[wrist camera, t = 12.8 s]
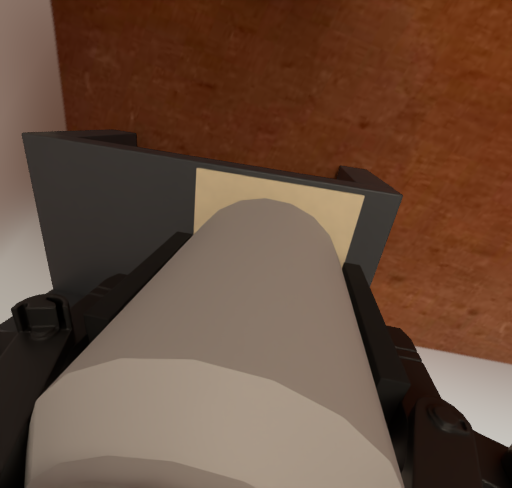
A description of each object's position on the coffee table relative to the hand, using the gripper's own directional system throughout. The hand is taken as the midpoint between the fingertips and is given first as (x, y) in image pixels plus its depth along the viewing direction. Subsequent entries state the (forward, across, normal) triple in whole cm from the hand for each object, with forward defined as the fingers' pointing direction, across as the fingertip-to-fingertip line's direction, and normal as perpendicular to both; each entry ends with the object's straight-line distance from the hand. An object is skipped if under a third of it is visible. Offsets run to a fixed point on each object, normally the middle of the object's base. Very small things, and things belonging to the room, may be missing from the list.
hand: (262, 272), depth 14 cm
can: (+1, 0, 0) cm, 1 cm away
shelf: (+10, -4, -1) cm, 11 cm away
